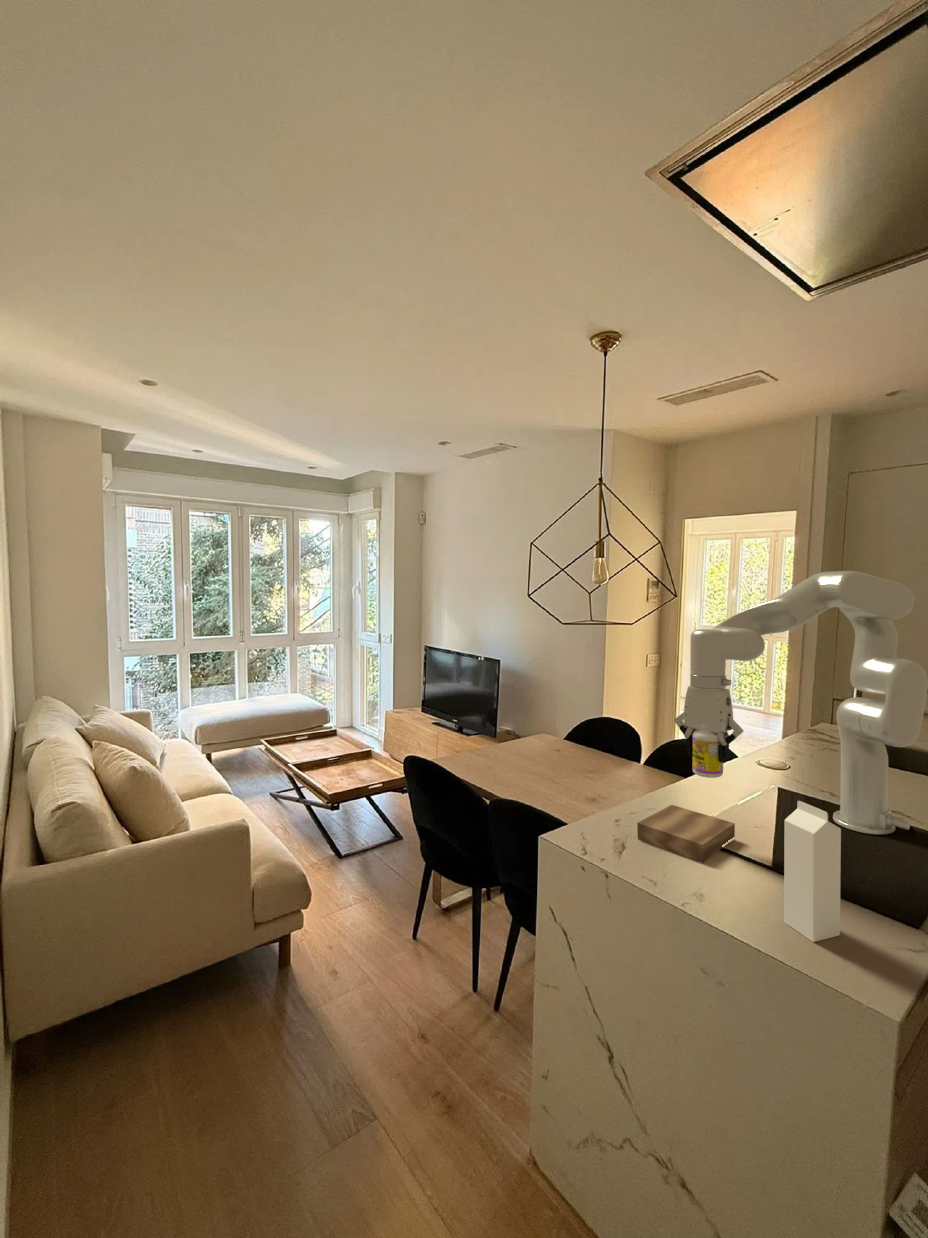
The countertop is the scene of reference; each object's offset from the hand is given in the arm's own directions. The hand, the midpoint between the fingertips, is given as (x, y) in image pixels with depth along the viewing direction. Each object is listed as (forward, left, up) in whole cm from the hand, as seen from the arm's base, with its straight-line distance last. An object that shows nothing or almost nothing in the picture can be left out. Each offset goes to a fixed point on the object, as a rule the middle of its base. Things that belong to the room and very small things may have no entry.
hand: (707, 757), depth 130 cm
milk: (-28, +20, -20) cm, 40 cm away
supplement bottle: (0, 0, -4) cm, 4 cm away
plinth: (+4, +3, -20) cm, 21 cm away
